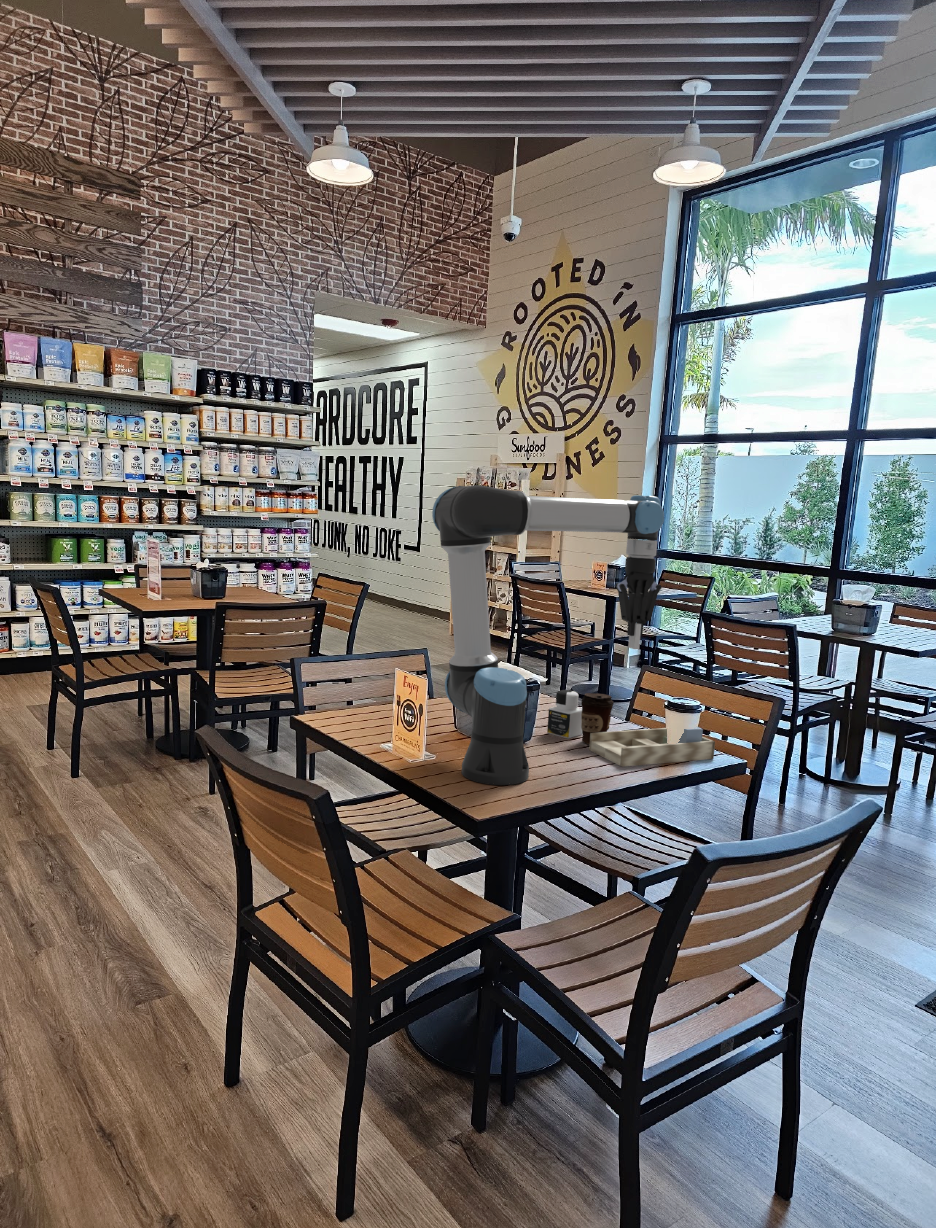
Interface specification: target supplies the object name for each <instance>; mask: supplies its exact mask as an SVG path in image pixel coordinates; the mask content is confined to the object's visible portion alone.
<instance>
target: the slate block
mask: <svg viewBox="0 0 936 1228" xmlns="http://www.w3.org/2000/svg"><path fill="white" fill-rule="evenodd" d="M696 727H697V729H695V728H694V729H684V733H683V734H682V736H681V738H680V739H679V740H680V741H679V742H678V743H689V742H702V737H703V733H704V732H703V731H704V729H703V728H701V727H699V726H696Z"/></svg>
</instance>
